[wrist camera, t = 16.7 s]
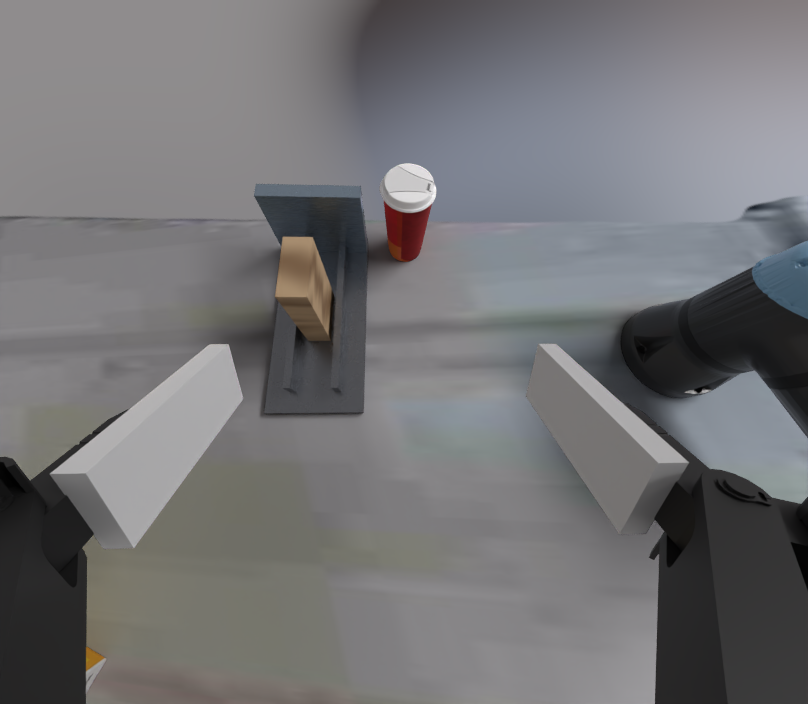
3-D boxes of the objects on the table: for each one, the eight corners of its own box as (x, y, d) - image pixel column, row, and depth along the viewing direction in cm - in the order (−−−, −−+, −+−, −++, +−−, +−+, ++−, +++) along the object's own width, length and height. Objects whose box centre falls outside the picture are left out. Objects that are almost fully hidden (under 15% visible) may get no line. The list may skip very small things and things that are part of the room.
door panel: (331, 340, 47) (307, 297, 34) (308, 340, 47) (275, 297, 34) (333, 294, 50) (312, 237, 36) (312, 294, 49) (282, 236, 36)
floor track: (363, 413, 45) (352, 398, 32) (266, 414, 44) (218, 399, 32) (368, 242, 54) (361, 180, 42) (288, 241, 54) (257, 178, 41)
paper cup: (430, 235, 55) (442, 167, 42) (421, 271, 53) (431, 210, 39) (388, 226, 55) (387, 155, 42) (377, 261, 53) (372, 197, 40)
